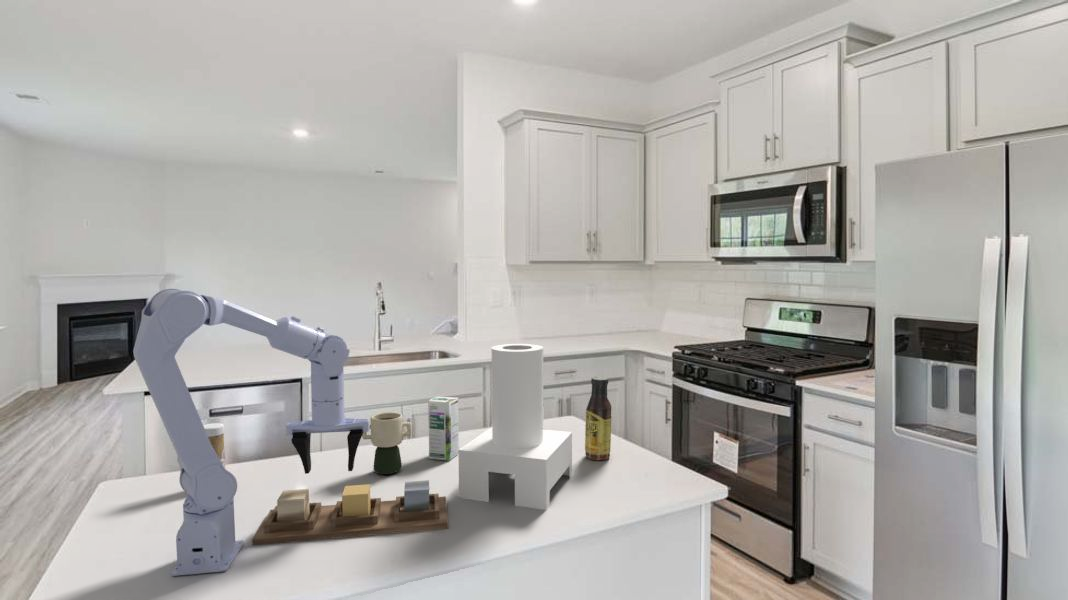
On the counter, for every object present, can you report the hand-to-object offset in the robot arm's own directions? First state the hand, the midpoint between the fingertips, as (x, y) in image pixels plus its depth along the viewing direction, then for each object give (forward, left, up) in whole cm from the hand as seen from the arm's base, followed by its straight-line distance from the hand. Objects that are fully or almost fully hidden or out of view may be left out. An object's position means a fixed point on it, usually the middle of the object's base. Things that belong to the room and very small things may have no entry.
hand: (329, 470), depth 109 cm
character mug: (+23, -9, -10) cm, 26 cm away
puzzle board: (-2, -5, -9) cm, 11 cm away
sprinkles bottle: (+21, +27, -10) cm, 36 cm away
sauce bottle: (+23, -59, -10) cm, 64 cm away
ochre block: (-2, -5, -8) cm, 10 cm away
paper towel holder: (+9, -37, -10) cm, 39 cm away
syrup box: (+31, -22, -10) cm, 39 cm away
